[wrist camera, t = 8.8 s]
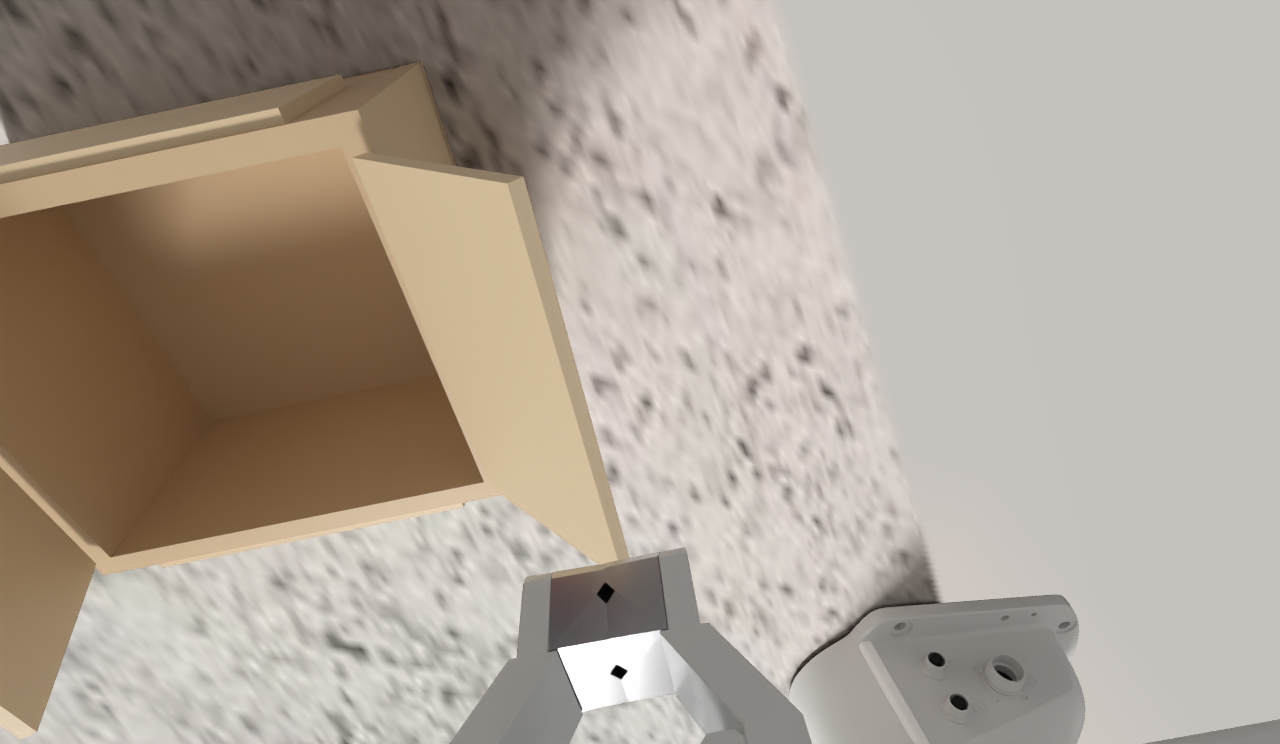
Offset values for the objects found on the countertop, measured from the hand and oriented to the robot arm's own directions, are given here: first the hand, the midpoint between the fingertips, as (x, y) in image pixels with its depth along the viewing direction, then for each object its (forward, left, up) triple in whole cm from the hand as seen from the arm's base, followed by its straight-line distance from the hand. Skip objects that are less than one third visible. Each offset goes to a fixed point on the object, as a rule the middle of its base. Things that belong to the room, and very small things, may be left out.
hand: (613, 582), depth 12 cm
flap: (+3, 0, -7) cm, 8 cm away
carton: (+13, 0, -19) cm, 23 cm away
